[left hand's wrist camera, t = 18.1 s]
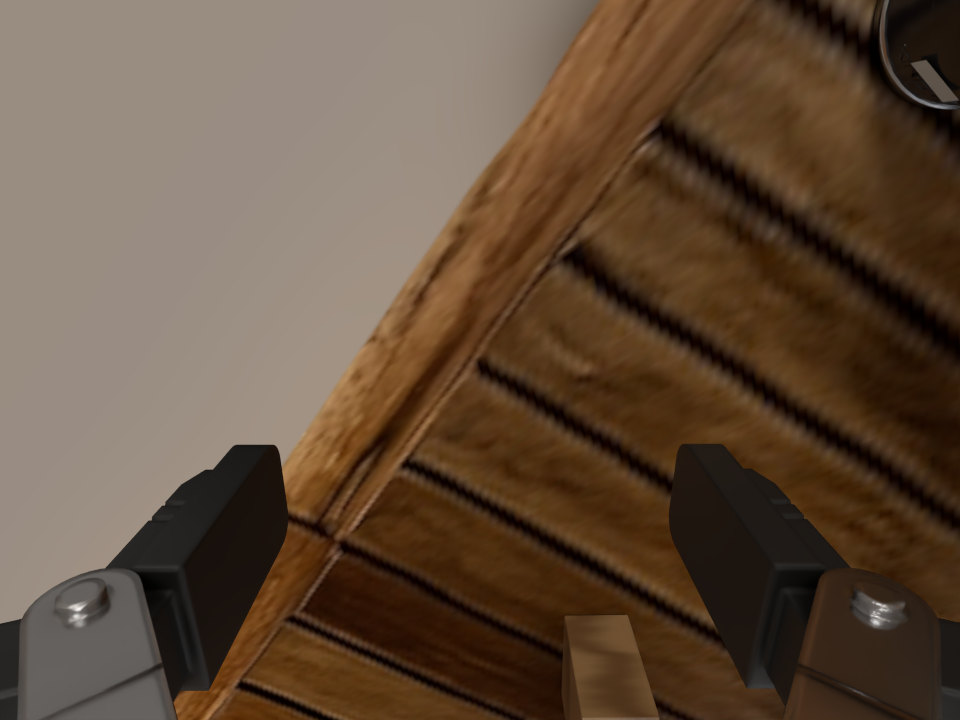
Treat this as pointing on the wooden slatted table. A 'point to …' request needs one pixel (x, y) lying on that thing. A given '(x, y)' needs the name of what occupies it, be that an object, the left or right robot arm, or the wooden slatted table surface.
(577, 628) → the block
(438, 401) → the wooden slatted table surface
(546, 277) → the wooden slatted table surface
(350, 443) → the wooden slatted table surface
